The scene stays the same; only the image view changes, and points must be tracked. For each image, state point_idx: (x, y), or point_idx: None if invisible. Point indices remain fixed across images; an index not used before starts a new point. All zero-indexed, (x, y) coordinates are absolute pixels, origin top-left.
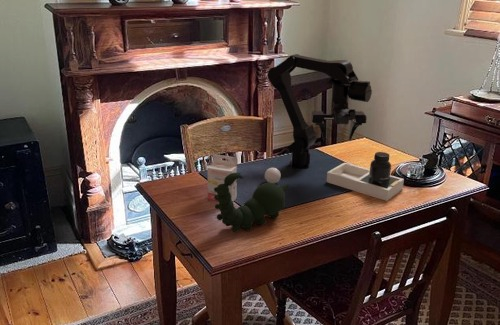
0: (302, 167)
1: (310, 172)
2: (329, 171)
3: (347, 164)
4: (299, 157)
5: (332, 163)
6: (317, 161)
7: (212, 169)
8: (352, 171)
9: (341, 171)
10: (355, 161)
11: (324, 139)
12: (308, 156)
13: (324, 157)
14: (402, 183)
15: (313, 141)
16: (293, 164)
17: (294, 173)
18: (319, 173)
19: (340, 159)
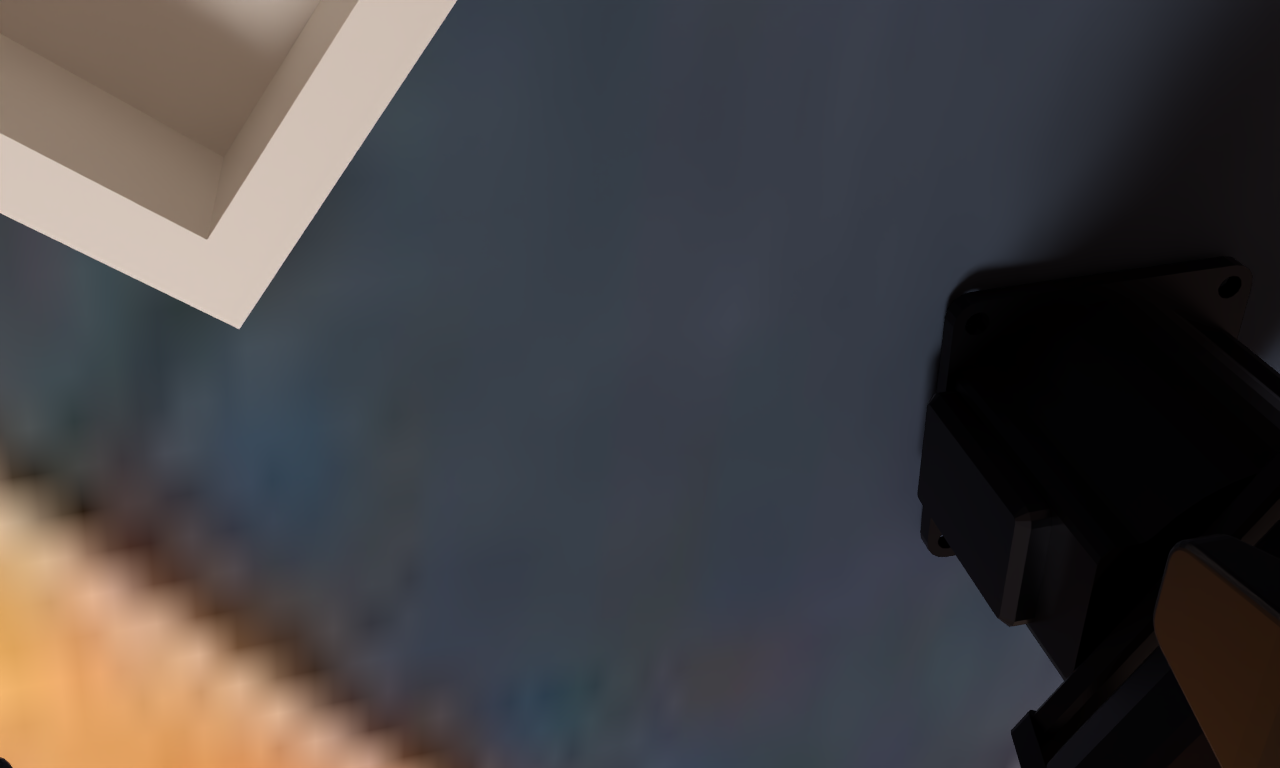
0: (1064, 282)
1: (954, 101)
2: None
3: (152, 212)
4: (1238, 393)
5: (481, 565)
6: (737, 590)
7: None
8: (13, 63)
9: (310, 34)
10: (40, 722)
11: (1216, 556)
12: (1040, 479)
13: (601, 749)
14: None
15: (1157, 754)
16: (1214, 339)
17: (1267, 12)
18: (785, 71)
19: (330, 738)
